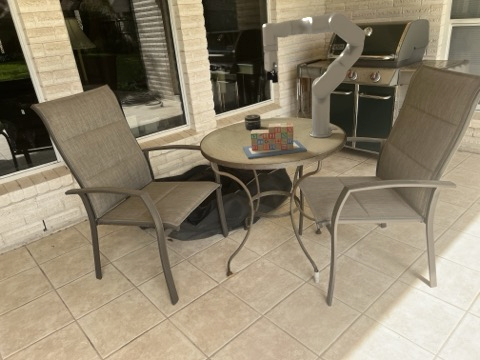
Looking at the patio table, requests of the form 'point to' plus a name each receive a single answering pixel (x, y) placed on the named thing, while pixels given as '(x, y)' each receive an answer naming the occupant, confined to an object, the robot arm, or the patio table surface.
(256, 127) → the jar
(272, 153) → the board
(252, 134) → the stack of blocks
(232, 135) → the patio table surface
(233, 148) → the patio table surface
